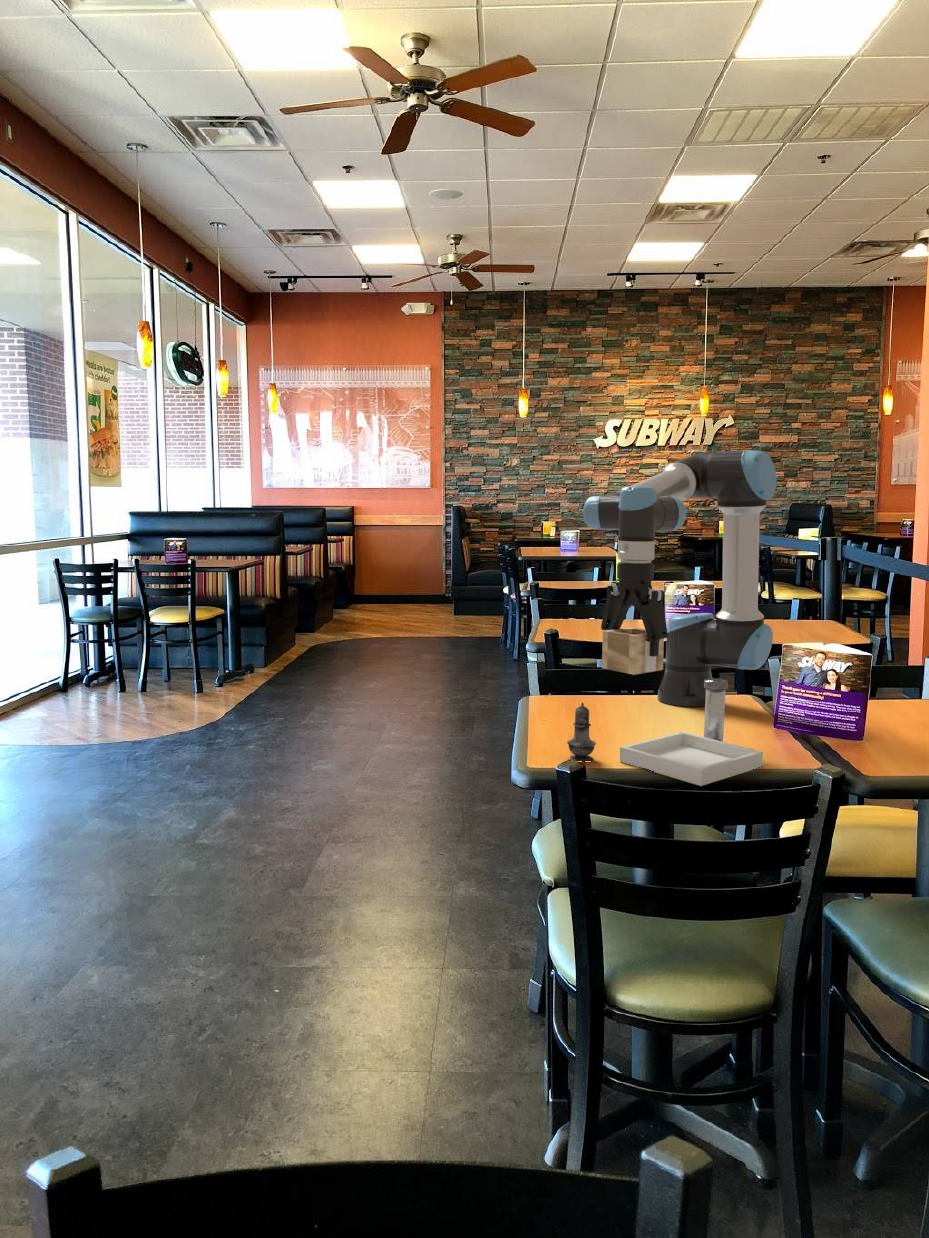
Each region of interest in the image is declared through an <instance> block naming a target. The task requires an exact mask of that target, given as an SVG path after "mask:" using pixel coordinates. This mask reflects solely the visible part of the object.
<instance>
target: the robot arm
mask: <svg viewBox="0 0 929 1238" xmlns="http://www.w3.org/2000/svg"><path fill="white" fill-rule="evenodd" d="M772 460H773V459H772V458H771V457H770V455H769V454H767V452H765V451H761V450H749V449H746V450H729V451H728V450H727V451H726V450H724V451H722V450H720V451H705V452H700V453H695V454H692V455H689V456H686V457H684V458H682V459H680V460H677V461H675V462H673V463H670V464H668V465H667V466H666V467H665V468H664V469H663V471H661V472H660V473H657V474H655V475H652V476H651V477H648V478H646V479H644V480H642V481H639V482H637V483H635V484H632V485H631V486H623V487H622V488H621V489H620V490H619V491H616V492H614V493H612V494H609V495H602V494H601V495H593V496H590V497H589V498H587V499H586V501H585V503H584V505H583V509H582V511H583V512H582V514H583V520H584V523H585V524H586V526H587V527H588V528H590V529H591V530H593V529H594V530H601V531H607V530H608V531H618V539H617V559H618V560H619V561H618V562H617V566H616V568H617V569H616V579H618V584H617V585H616V584H613V585H607V586H606V601H605V605H604V610H603V613H602V614H603V615H602V618H601V619H602V621H601V624H600V625H601V626H600V629H601V631H606V630H614V629H622V628H621V627H622V625H623V624H624V621H625V618H626V616H627V613H628V612H629V609H630V608H631V607H635V609H636V611H638V612H639V615H640V618H641V621H642V624H643V626H644V629H645V630H646V633H647V636H648V639H646V640H647V641H645V661H644V672H647V673H652V672H657V671H656V656H658V654H659V641H660V640H661V639H664V640H665V639H666V640H665V641H666V643H665V644H666V645H665V650H666V651H665V669H664V674H663V677H662V679H661V681H660V686H659V688H658V689H657V700H658V701H659V702H661V703H664V704H667V705H673V706H679V707H690V708H691V707H695V708H696V707H705V699H706V688H704V680H705V679H708V678H713V676H712V666H716V667H717V666H720V667H725V668H734V669H738V670H740V671H741V670H742V671H743V670H749V671H752V670H753V671H755V670H758V669H760V668H761V667H762V666H763V665H764V664H765V662H766V661H767V659H768V658H769V655H770V652H771V651H772V650H771V649H772V645H773V639H774V634H773V631H772V629H773V628H772V627H771V626H770V625H768V624H766V623H765V621H764V620H765V619H764V618H765V615H764V614H763V613H762V612H761V611H760V610H759V603H758V602H759V564H760V562H759V559H760V517H761V516H760V514H761V512H762V511H763V510H764V509H765V508H766V507H767V500H770V499H772V498H773V497H774V495H775V493H776V488H777V482H778V481H777V471H776V468H775V464H774V462H773V461H772ZM688 499H711V500H712V499H716V501H717V502H716V507H717V508H718V509H719V511H721V513H722V515H723V518H722V519H723V520H722V521H723V523H722V526H723V527H722V580H721V581H722V582H721V583H722V585H721V586H722V589H721V591H722V592H721V594H722V595H721V598H722V599H721V609H720V611H718V612H717V613H716V614H715V616H714V614H713V613H711V612H700V613H699V612H698V613H687V614H686V613H683V614H677V615H673V616H670V617H669V619H668V621H667V620H666V613H665V608H664V596H665V592H664V590H662V589H659V590H657V589H653V587H652V581H653V580H654V573H655V572H654V571H655V564H654V562H652V561H654V560H655V545H656V543H655V541H656V539H655V536H656V533H657V532H658V533H660V532H663V533H665V532H666V533H669V532H672V531H676V530H678V529H680V528H681V527H682V526H683V525H684V523H685V521H686V519H687V509H686V506H685V504H684V501H687V500H688ZM653 634H654V635H653Z"/></svg>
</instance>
